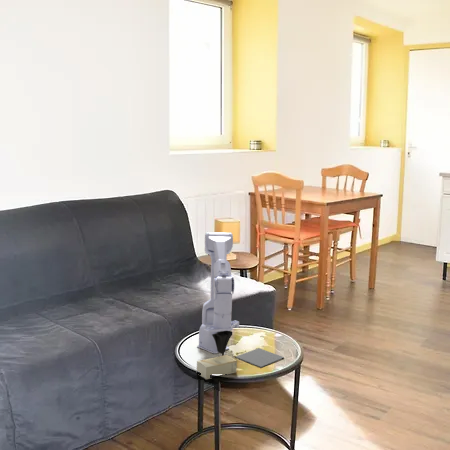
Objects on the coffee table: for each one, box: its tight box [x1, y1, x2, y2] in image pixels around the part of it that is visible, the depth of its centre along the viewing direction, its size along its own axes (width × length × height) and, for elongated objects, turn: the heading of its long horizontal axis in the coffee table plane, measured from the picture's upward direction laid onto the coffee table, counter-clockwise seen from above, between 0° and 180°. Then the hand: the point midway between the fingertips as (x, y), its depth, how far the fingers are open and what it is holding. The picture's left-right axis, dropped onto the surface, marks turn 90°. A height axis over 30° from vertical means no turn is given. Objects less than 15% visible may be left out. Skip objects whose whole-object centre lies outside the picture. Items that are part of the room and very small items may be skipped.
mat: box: [234, 347, 285, 369], centre depth 206 cm, size 12×13×1 cm
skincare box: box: [196, 354, 238, 380], centre depth 191 cm, size 6×4×12 cm
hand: (221, 352), depth 188 cm, fingers closed
